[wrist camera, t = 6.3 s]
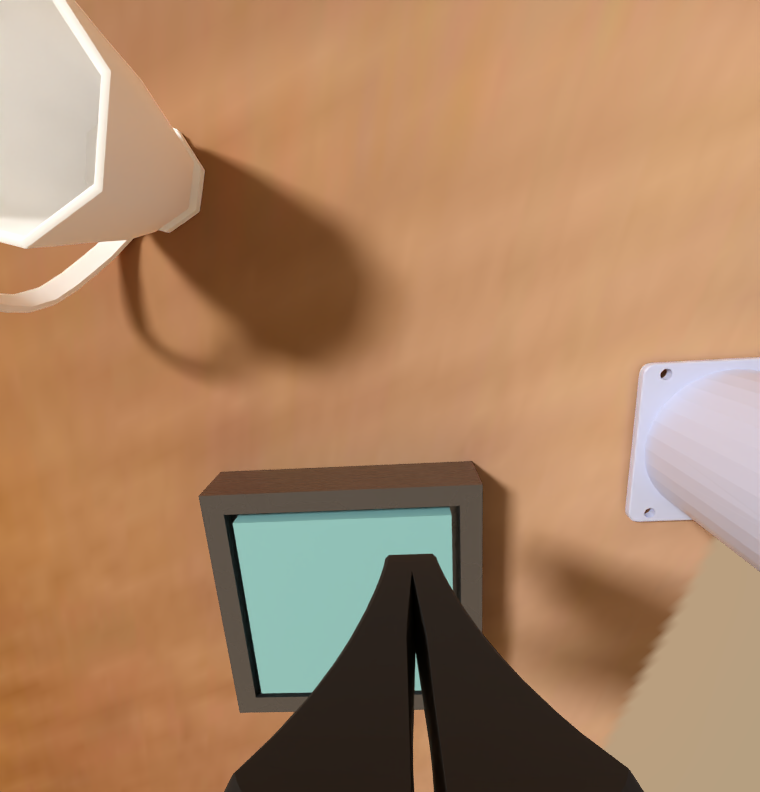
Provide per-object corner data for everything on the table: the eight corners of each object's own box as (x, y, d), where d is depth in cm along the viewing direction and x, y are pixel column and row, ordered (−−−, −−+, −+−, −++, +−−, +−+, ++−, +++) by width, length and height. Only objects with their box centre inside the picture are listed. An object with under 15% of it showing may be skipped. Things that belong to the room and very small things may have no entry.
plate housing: (472, 461, 21) (482, 484, 18) (472, 665, 24) (481, 708, 22) (220, 472, 21) (198, 496, 19) (255, 670, 24) (239, 712, 22)
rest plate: (447, 498, 20) (451, 515, 19) (450, 663, 23) (454, 689, 21) (243, 506, 20) (232, 523, 19) (270, 667, 23) (261, 693, 22)
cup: (268, 159, 17) (168, 58, 10) (154, 348, 20) (-2, 389, 12) (121, 43, 17) (-122, -173, 9) (20, 255, 19) (-246, 233, 11)
